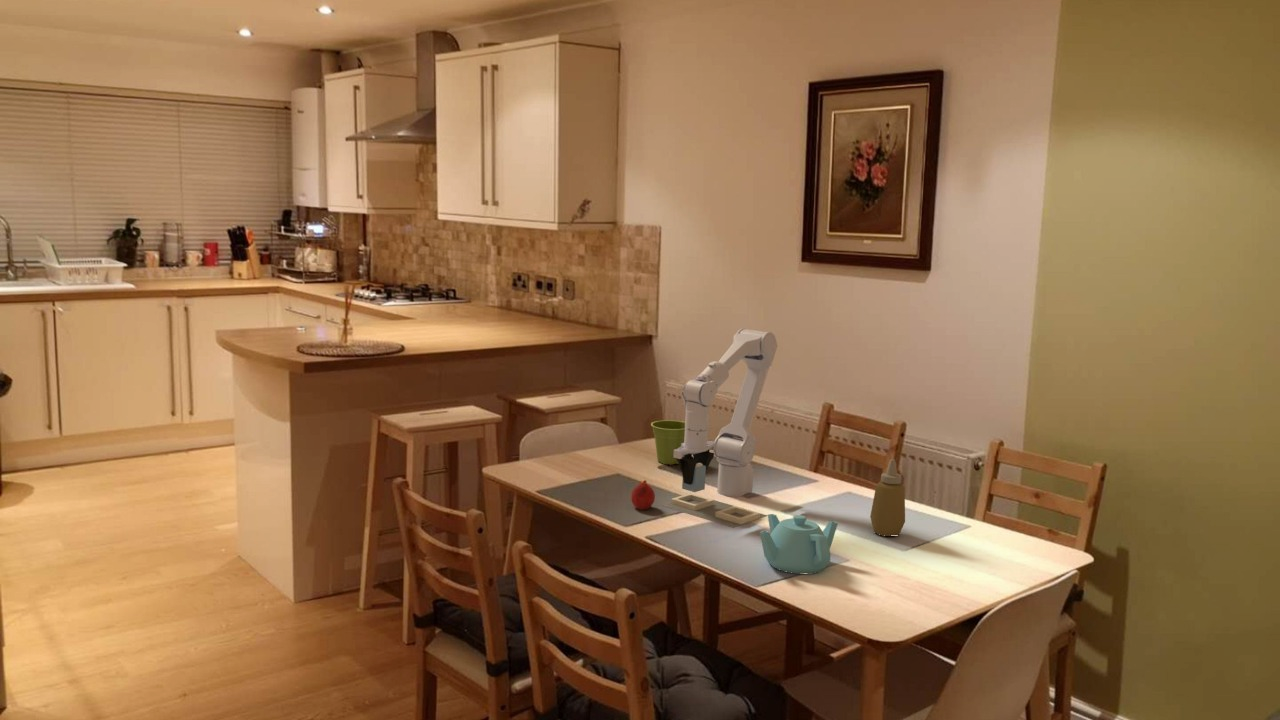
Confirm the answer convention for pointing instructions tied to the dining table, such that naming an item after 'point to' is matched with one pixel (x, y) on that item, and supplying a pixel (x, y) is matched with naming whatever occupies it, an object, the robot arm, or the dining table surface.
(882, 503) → the squeeze bottle
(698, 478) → the plug
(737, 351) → the robot arm
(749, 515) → the panel
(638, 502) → the red pomegranate
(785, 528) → the teapot
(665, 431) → the plant pot
